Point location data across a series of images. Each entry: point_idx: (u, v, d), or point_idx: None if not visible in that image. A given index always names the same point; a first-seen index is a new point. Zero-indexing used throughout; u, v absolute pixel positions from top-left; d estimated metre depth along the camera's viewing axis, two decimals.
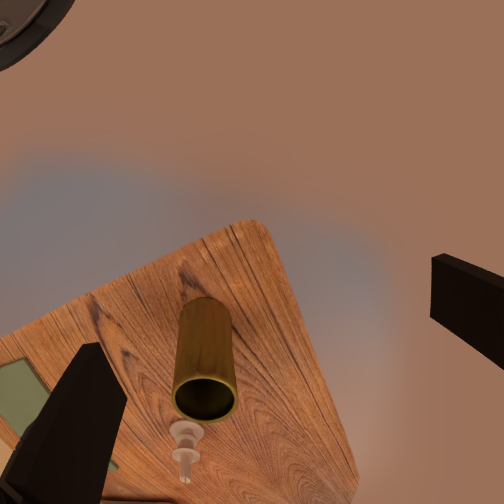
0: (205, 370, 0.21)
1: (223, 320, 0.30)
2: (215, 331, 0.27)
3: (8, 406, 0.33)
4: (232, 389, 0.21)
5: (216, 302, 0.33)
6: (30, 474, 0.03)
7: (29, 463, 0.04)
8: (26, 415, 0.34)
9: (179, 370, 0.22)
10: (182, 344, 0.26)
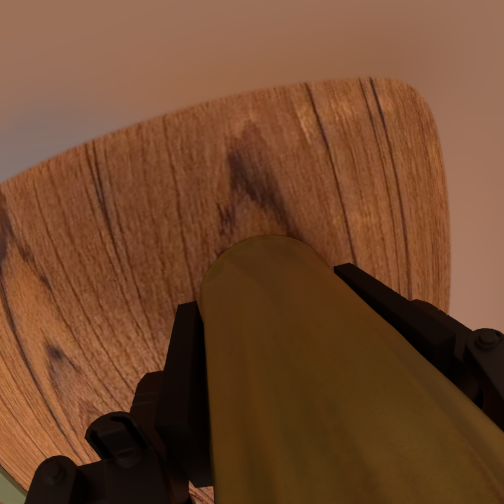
0: None
1: None
2: (391, 326, 0.06)
3: None
4: None
5: (314, 252, 0.12)
6: (186, 411, 0.06)
7: (181, 401, 0.06)
8: None
9: None
10: (266, 384, 0.05)
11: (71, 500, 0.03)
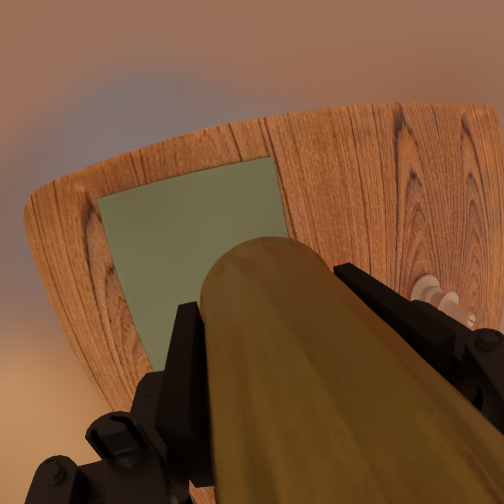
0: None
1: None
2: None
3: (160, 256, 0.29)
4: None
5: (314, 253, 0.12)
6: (186, 411, 0.06)
7: (181, 401, 0.06)
8: (196, 273, 0.30)
9: None
10: (267, 386, 0.05)
11: (71, 500, 0.03)
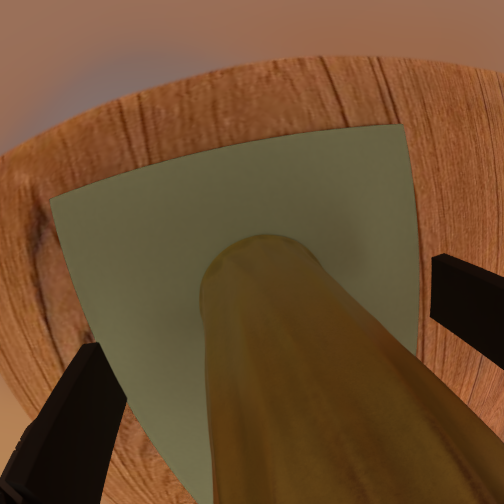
0: None
1: None
2: (373, 316, 0.07)
3: (184, 318, 0.14)
4: None
5: (307, 251, 0.13)
6: (30, 474, 0.03)
7: (29, 463, 0.04)
8: None
9: None
10: (257, 362, 0.05)
11: None
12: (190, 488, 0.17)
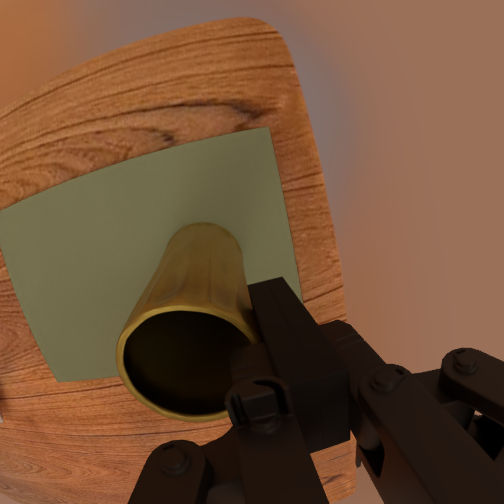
0: None
1: None
2: None
3: (189, 211, 0.22)
4: (218, 418, 0.10)
5: None
6: (309, 370, 0.06)
7: (301, 363, 0.07)
8: None
9: (242, 303, 0.11)
10: (238, 272, 0.15)
11: (198, 493, 0.04)
12: (20, 205, 0.20)
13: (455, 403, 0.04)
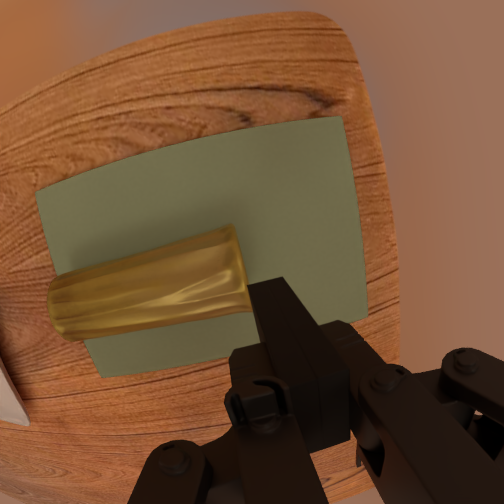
0: (70, 335, 0.18)
1: (200, 319, 0.20)
2: (151, 328, 0.19)
3: (268, 192, 0.22)
4: None
5: (246, 311, 0.19)
6: (309, 371, 0.06)
7: (300, 363, 0.07)
8: (243, 239, 0.23)
9: (68, 306, 0.17)
10: (115, 297, 0.17)
11: (198, 493, 0.04)
12: (72, 181, 0.20)
13: (455, 403, 0.04)
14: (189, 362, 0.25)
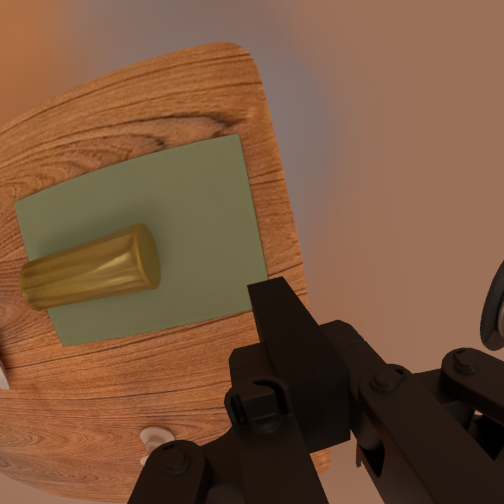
0: (32, 303, 0.23)
1: (119, 294, 0.25)
2: (85, 298, 0.24)
3: (176, 200, 0.28)
4: None
5: (147, 287, 0.25)
6: (309, 371, 0.06)
7: (300, 363, 0.07)
8: (158, 237, 0.29)
9: (32, 279, 0.23)
10: (60, 272, 0.23)
11: (198, 493, 0.04)
12: (39, 195, 0.25)
13: (455, 402, 0.04)
14: (125, 334, 0.30)
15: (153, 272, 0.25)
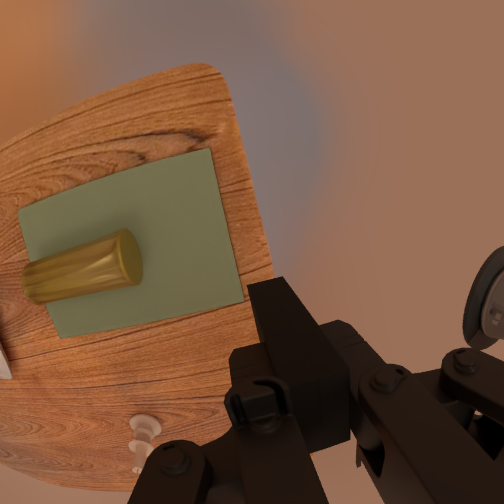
0: (33, 298, 0.27)
1: (106, 290, 0.29)
2: (77, 293, 0.28)
3: (155, 208, 0.32)
4: None
5: (129, 283, 0.28)
6: (309, 371, 0.06)
7: (300, 363, 0.07)
8: (141, 241, 0.32)
9: (32, 277, 0.26)
10: (56, 270, 0.26)
11: (198, 493, 0.04)
12: (39, 204, 0.29)
13: (455, 402, 0.04)
14: (114, 327, 0.34)
15: (134, 271, 0.29)
